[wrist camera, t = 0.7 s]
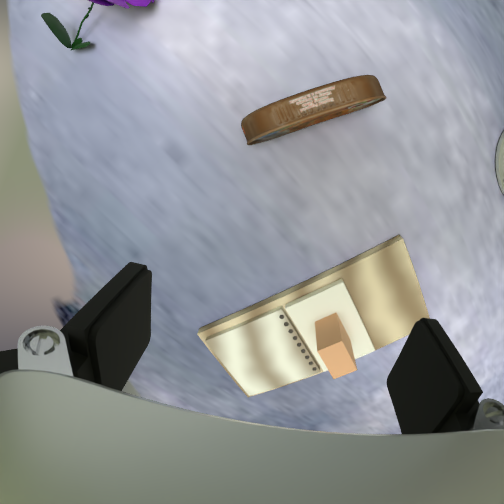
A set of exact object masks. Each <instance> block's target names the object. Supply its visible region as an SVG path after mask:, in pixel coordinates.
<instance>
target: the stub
mask: <svg viewBox="0 0 504 504" xmlns="http://www.w3.org/2000/svg"><path fill="white" fill-rule="evenodd" d="M285 309H286V311H287V312H288V314H289V316H290V317H291V319H292V321H293V322H294V324H295V325H296V327H297V329H298V330H299V332H300V334H301V335H302V337H303V339H304V340H305V342H306V343H307V345H308V347H309V348H310V350H311V352H312V353H313V355H314V356H315V358H316V360H317V361H318V363H319V365H320V366H321V368H322V370H323V371H324V372H325V371H327V370H329V372H330V374H331V375H332V377H333V379H335V378H338V377H341V376H343V375H346V374H348V373H351V372H353V371H356V370H357V367H356V362H355V359H357V358H359V357H362V356H364V355H366V354H368V353H371V352H373V351H375V349H374V346H373V344H372V341H371V339H370V337H369V335H368V332H367V330H366V328H365V326H364V324H363V322H362V319H361V317H360V315H359V313H358V311H357V309H356V307H355V305H354V302H353V300H352V298H351V296H350V294H349V292H348V290H347V288H346V286H345V284H344V282H343V280H342V278H341V279H339V280H337V281H335V282H333V283H331V284H329V285H327V286H324V287H322V288H320V289H318V290H316V291H314V292H311V293H309V294H307V295H305V296H303V297H301V298H298V299H296V300H294V301H292V302H289V303H287V304H285Z"/></svg>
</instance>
